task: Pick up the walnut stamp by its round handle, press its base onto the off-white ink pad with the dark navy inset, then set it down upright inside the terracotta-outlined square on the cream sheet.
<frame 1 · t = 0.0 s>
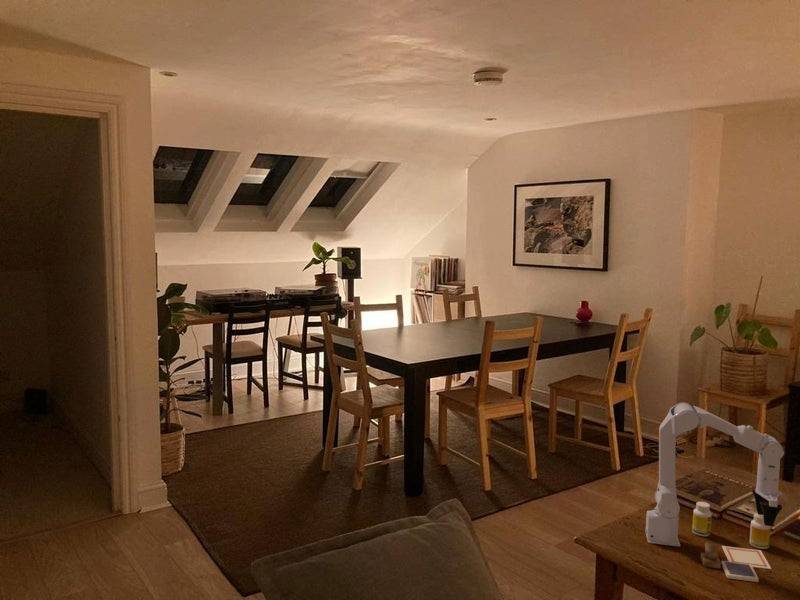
hand: (764, 519, 197), 10 cm above the table, fingers open, 7 cm apart
stamp: (710, 563, 191), on the table
print sheet: (745, 557, 194), on the table
ink pad: (739, 572, 186), on the table
supplement bottle: (759, 545, 202), on the table
supplement bottle 2: (701, 533, 210), on the table
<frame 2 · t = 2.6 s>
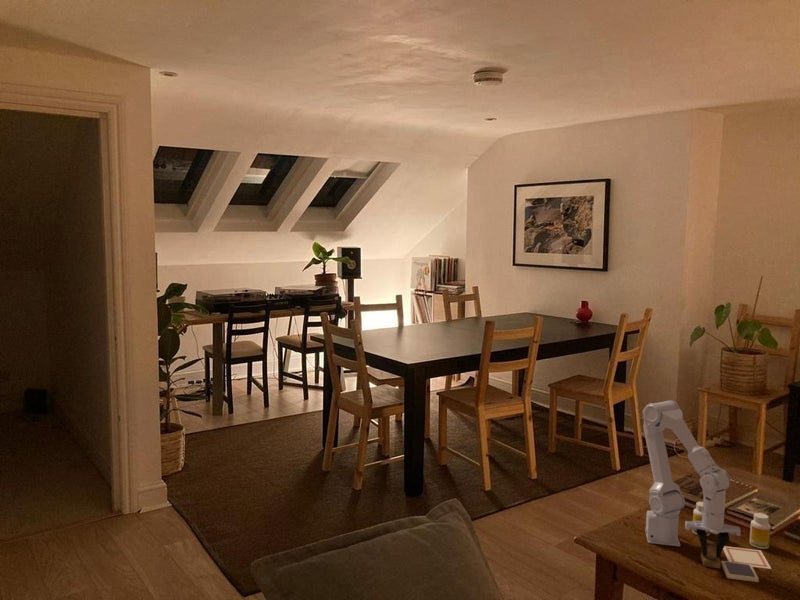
hand: (710, 555, 191), 3 cm above the table, fingers closed on stamp, 3 cm apart
stamp: (710, 563, 191), on the table, touching gripper
everything else where it was.
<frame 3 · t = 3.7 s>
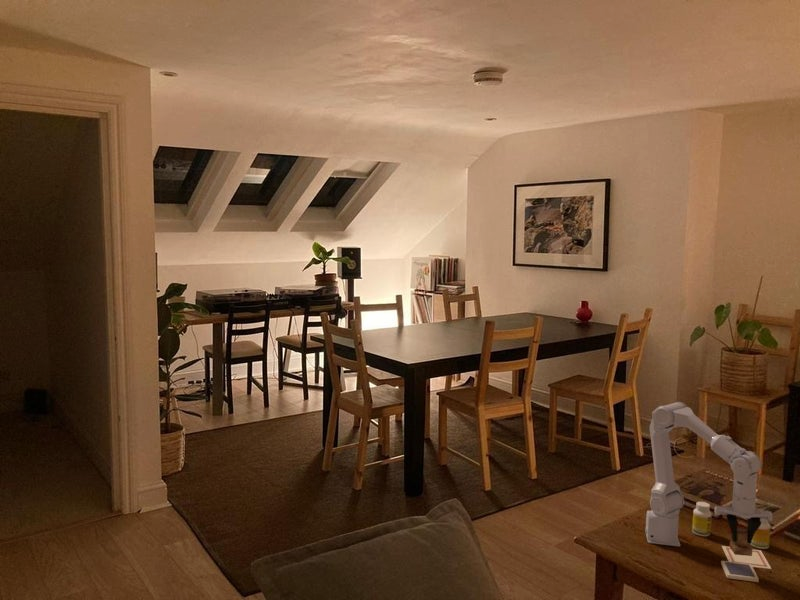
hand: (741, 540, 185), 10 cm above the table, fingers closed on stamp, 3 cm apart
stamp: (740, 551, 185), point 6 cm above the table, touching gripper
everything else where it was.
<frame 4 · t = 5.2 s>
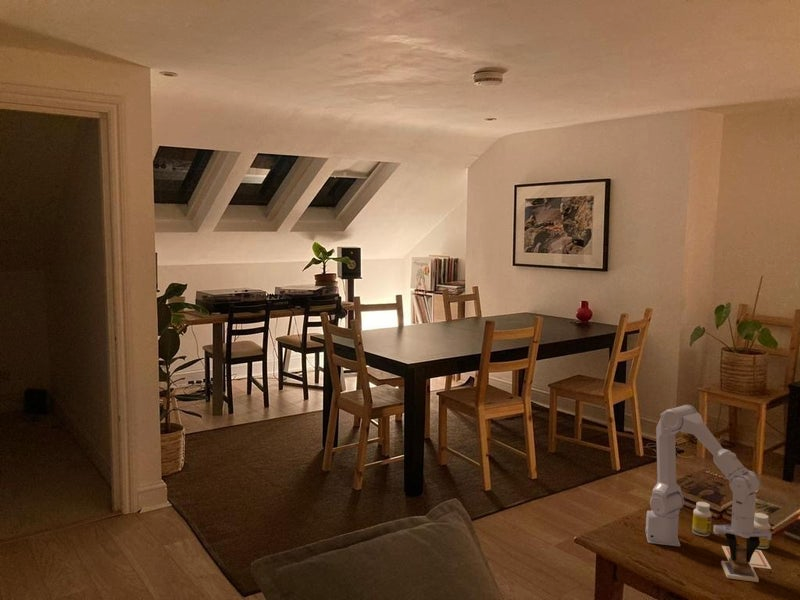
hand: (740, 559, 185), 4 cm above the table, fingers closed on stamp, 3 cm apart
stamp: (739, 569, 186), point 1 cm above the table, touching gripper, ink pad
everything else where it was.
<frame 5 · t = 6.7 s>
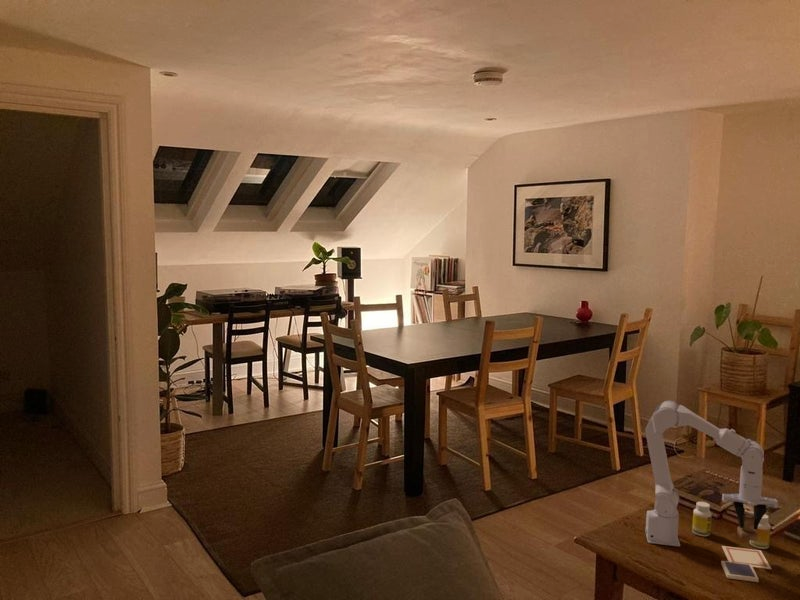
hand: (747, 527, 193), 10 cm above the table, fingers closed on stamp, 3 cm apart
stamp: (747, 537, 193), point 7 cm above the table, touching gripper
everything else where it was.
when the fingers open (4 cm above the table, at t = 8.1 s): stamp stays where it is, resting on print sheet.
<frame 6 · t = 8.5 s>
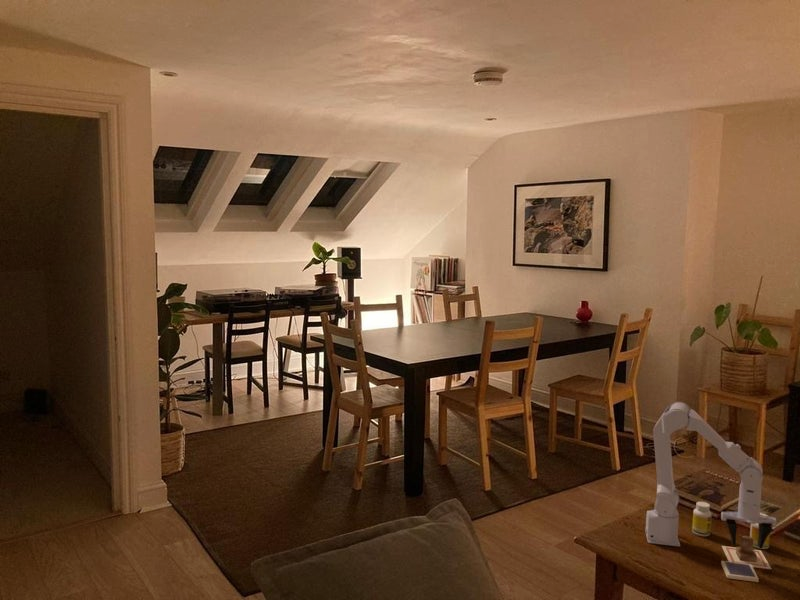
hand: (746, 545, 194), 4 cm above the table, fingers open, 7 cm apart
stamp: (746, 557, 194), resting on print sheet
everything else where it was.
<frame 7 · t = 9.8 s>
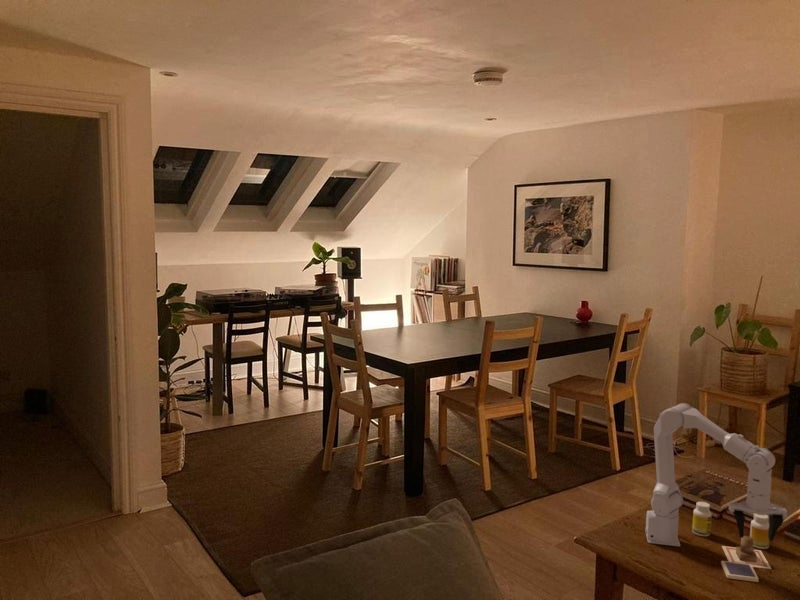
hand: (755, 537, 185), 10 cm above the table, fingers open, 7 cm apart
nothing on the table moved.
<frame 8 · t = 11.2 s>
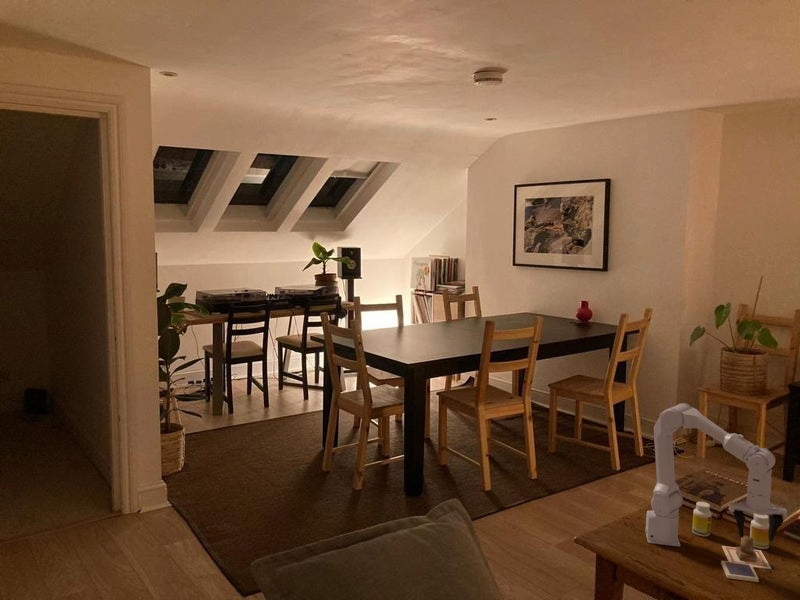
hand: (755, 537, 185), 10 cm above the table, fingers open, 7 cm apart
nothing on the table moved.
at the end: stamp 0.4 cm from the print sheet (horizontally); stamp tilted 0°; the gripper is holding nothing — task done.
